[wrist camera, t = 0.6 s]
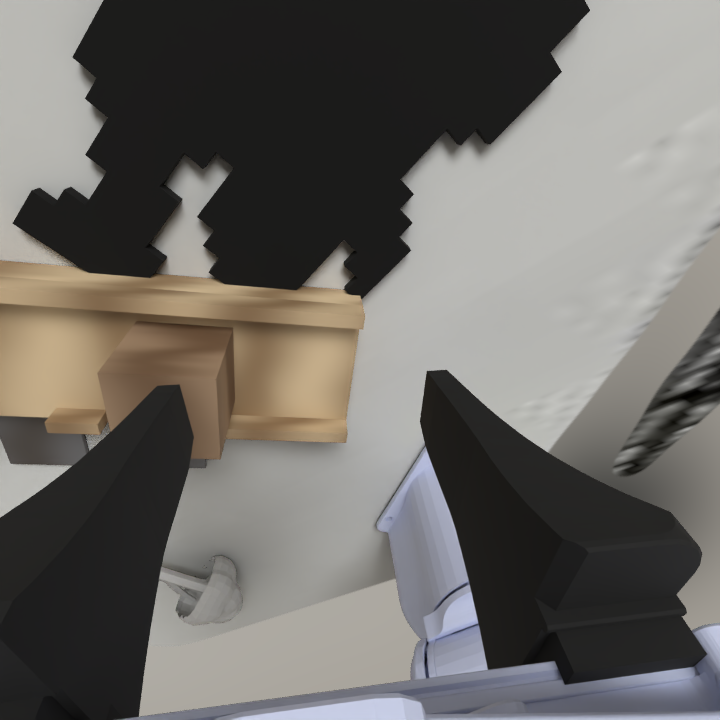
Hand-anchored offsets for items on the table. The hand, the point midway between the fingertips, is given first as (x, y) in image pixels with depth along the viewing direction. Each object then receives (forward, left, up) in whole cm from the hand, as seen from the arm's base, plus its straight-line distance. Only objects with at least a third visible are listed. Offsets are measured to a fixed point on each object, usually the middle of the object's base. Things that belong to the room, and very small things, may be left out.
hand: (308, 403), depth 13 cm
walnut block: (-6, +4, -9) cm, 12 cm away
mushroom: (-26, +2, -11) cm, 28 cm away
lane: (-9, +6, -11) cm, 16 cm away
